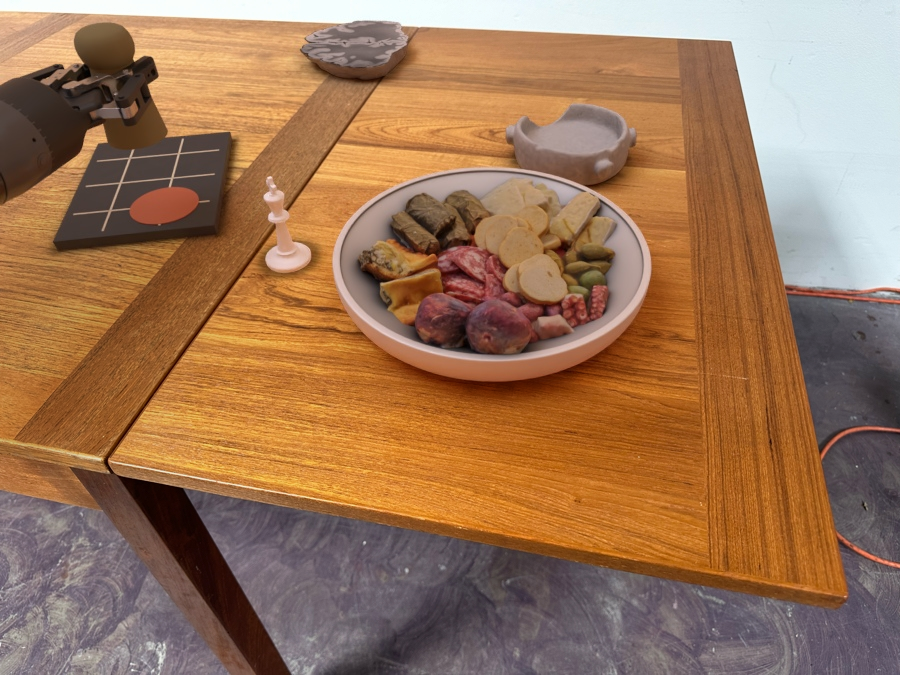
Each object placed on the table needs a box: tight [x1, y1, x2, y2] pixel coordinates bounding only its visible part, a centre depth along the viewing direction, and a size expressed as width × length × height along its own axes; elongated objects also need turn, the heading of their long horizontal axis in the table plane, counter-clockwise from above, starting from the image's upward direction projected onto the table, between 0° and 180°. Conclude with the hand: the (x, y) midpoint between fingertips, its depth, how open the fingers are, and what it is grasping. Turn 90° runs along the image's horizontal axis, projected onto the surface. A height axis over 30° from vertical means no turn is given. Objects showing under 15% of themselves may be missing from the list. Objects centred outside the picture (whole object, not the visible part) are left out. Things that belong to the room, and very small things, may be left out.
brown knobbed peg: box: [73, 21, 169, 150], centre depth 66 cm, size 6×6×11 cm
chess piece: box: [263, 175, 312, 274], centre depth 67 cm, size 5×5×10 cm
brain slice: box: [299, 19, 410, 81], centre depth 107 cm, size 20×17×3 cm
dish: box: [504, 102, 638, 186], centre depth 82 cm, size 14×14×5 cm
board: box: [52, 131, 233, 252], centre depth 80 cm, size 17×22×2 cm
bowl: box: [331, 166, 652, 382], centre depth 64 cm, size 30×30×8 cm
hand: (132, 63), depth 67 cm, fingers closed on brown knobbed peg, 4 cm apart
